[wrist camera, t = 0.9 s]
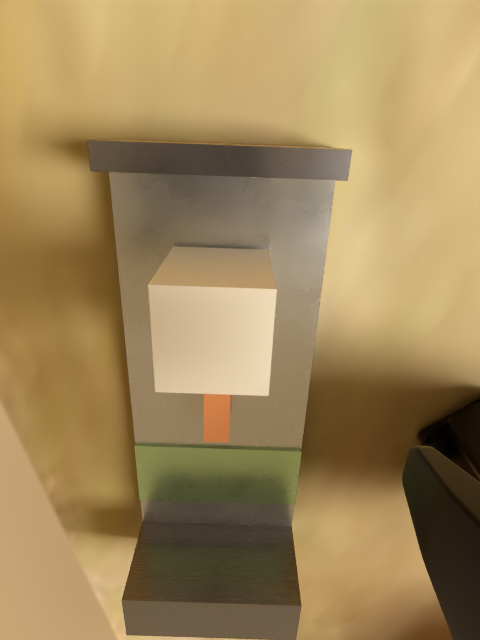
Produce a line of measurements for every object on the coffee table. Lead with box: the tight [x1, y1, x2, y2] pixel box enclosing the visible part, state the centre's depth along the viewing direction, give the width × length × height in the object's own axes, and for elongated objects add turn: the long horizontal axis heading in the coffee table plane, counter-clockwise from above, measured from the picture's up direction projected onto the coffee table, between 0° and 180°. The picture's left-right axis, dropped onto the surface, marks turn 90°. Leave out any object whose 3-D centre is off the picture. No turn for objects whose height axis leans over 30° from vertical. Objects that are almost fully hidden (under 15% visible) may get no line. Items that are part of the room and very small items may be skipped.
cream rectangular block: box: [148, 246, 277, 443], centre depth 17 cm, size 9×4×5 cm, turn 178°
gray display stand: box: [87, 139, 352, 640], centre depth 19 cm, size 24×9×6 cm, turn 178°
